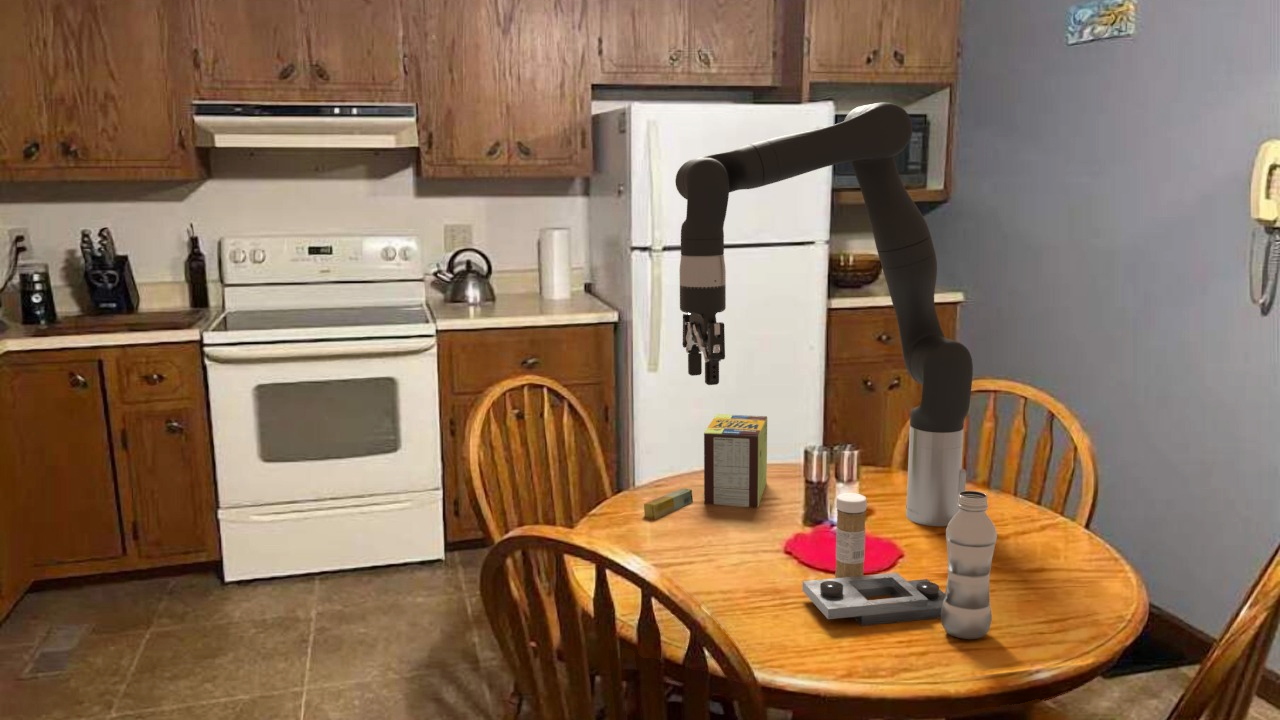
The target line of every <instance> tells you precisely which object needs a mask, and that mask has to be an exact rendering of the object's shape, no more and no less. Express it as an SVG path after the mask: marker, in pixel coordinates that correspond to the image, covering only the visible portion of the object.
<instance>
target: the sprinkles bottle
mask: <svg viewBox="0 0 1280 720" xmlns="http://www.w3.org/2000/svg"><path fill="white" fill-rule="evenodd" d="M835 502H836V504H835V505H836V506H835V507H836V512H837V513H836V515H837V516H836V518H837V519H836V520H837V521H836V535H835V538H836V539H835V541H836V542H835V573H834V576H835V577H834V578H843V577H854V576H865V575H864V565H865V564H864V562H865V555H866V554H865V551H866V550H865V549H866V512H867V511H866V510H867V508H868V507H867V505H868V504H867V502H868V501H867V497H866V496H865V495H863V494H859V493H854V492H847V493H840V494H838V495H837V497H836V501H835Z"/></svg>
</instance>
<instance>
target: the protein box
mask: <svg viewBox="0 0 1280 720" xmlns="http://www.w3.org/2000/svg"><path fill="white" fill-rule="evenodd" d="M703 451H704V452H703V473H704V474H703V489H704V491H703V493H704V494H703V496H704V497H703V499H704V500H703V501H704V503H703V504H707V505H720V506H731V507H744V508H759V506H760V503H761V501H762V497H763V495H764V492H765V489H766V486H767V474H768V473H767V472H768V471H767V470H768V462H767V461H768V416H766V415H742V414H741V415H740V414H739V415H738V414H723V413H717V414H715V416H714V418H713V419H712V421H711V422H710V423H709V424H708V427H707V428H706V429H705V430H704V433H703Z"/></svg>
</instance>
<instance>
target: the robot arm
mask: <svg viewBox="0 0 1280 720" xmlns="http://www.w3.org/2000/svg"><path fill="white" fill-rule="evenodd" d="M912 135H913V122H912V118H911V117H910V114H909V113H908V112H907V111H906V110H905V109H904V108H903V107H902V106H900V105H898V104H895V103H892V102H885V101H882V102H876V103H871V104H869V103H868V104H863V105H859V106H857V107H855V108H853V109H852V110H850V111H849V112H848V114H847V115H846V116H845V117H844V121H841V122H838V123H836V124H832V125H830V126H829V125H828V126H825V127H822V128H817V129H813V130H807V131H803V132H797V133H796V132H795V133H792V134H791V133H790V134H786V135H781V136H777V137H773V138H769V139H765V140H760V141H758V142H754V143H749V144H746V145H744V146H741V147H738V148H736V149H733V150H729V151H725V152H719V153H714V154H710V155H705V156H701V157H696V158H693V159H690V160H687V161H686V162H684V163H683V164H682V165H681V166H680V167H679V169H678V171H677V173H676V175H675V187H676V190H677V192H678V194H679V195H680V196H681V197H682V198H684V199H685V200H687V201H686V204H687V205H686V217H685V220H684V221H683V222H682V224H681V228H680V264H679V310H680V311H681V312H683V314H682V347H683V349H685V351H686V353H687V373H688V375H689V376H701V375H702V373H703V372H702V371H703V369H702V368H703V367H702V364H703V363H702V361H703V360H702V357H703V359H704V383H705V385H708V386H717V385H718V384H719V383H720V362H721V361H722V360H725V359H726V351H725V350H726V346H725V342H726V341H725V340H726V338H725V323H724V322H723V321H722V322H717V317H716V316H717V314H718V313H723V312H724V311H725V310H726V308H727V305H726V301H727V300H726V299H727V298H726V295H727V294H726V289H727V288H726V287H727V286H726V285H727V284H726V277H727V276H726V274H727V273H726V271H727V270H726V263H725V255H724V254H725V247H724V246H725V235H724V234H725V233H724V225H725V221H726V216H727V210H728V209H727V208H728V202H729V197H730V193H733V192H735V191H740V190H751V189H757V188H758V189H759V188H760V187H765V186H767V185H771V184H775V183H779V182H781V181H785V180H788V179H791V178H792V179H793V178H794V177H798V176H800V175H804V174H807V173H809V172H813V171H817V170H819V169H823V168H826V167H830V166H834V165H837V164H843V163H848V162H849V163H850V166H851V167H852V171H853V173H854V175H855V177H856V180H857V183H858V186H859V188H860V191H861V194H862V198H863V201H864V205H865V209H866V213H867V218H868V221H869V223H870V228H871V230H872V235H873V239H874V242H875V243H874V244H875V247H876V252H877V254H878V258H879V261H880V264H881V265H880V266H881V268H882V271H883V275H884V277H885V281H886V285H887V288H888V292H889V297H890V299H891V302H892V306H893V309H894V313H895V316H896V319H897V324H898V325H897V326H898V331H899V336H900V343H901V349H902V355H903V361H904V366H905V369H906V371H907V373H908V375H909V376H910V377H911V378H912V379H913V380H914V381H915V382H916V383H918V384H920V385H922V389H921V390H922V391H921V399H920V404H919V406H916V407H913V408H912V409H911V411H910V415H909V433H908V435H909V436H908V437H909V438H908V443H909V444H908V460H907V461H908V463H907V464H908V465H907V466H908V467H907V486H906V487H907V488H906V505H905V508H906V511H905V512H906V513H905V516H906V518H907V520H909V521H911V522H912V523H915V524H918V525H923V526H928V527H929V526H930V527H947V526H948V523H949V522H950V520H951V519H952V518H953V516H954V515H955V514H956V513H957V512H958V511H959V508H958V507H957V502H958V494H959V492H961V491H966V485H967V483H966V482H967V470H966V469H965V468H963V467H962V463H963V446H964V429H965V428H964V426H965V419H966V417H967V416H968V414H969V410H970V406H971V405H970V404H971V398H972V397H971V394H972V385H973V375H974V374H973V372H974V371H973V370H974V368H973V367H974V366H973V358H972V356H971V355H972V354H971V353H970V350H969V349H968V348H967V347H966V346H965V345H964V344H963V343H961V342H958V341H956V340H953V339H950V338H947V337H945V335H944V332H943V330H942V327H941V324H940V321H939V318H938V314H937V310H936V305H935V290H936V286H937V285H936V284H937V275H938V260H937V256H936V250H935V248H934V244H933V239H932V236H931V232H930V229H929V226H928V223H927V222H926V219H925V217H924V216H923V214H922V213H921V211H920V209H919V208H918V206H917V204H916V203H915V201H914V200H913V198H912V197H911V196H910V194H909V192H908V191H907V189H906V188H905V185H904V183H903V182H902V180H901V176H900V174H899V171H898V168H897V167H898V166H897V163H896V159H895V156H897V155H898V154H900V153H902V152H903V150H905V148H906V147H907V146H908V145H909V143H910V141H911V138H912ZM702 355H703V356H702Z"/></svg>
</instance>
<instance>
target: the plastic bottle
mask: <svg viewBox="0 0 1280 720" xmlns="http://www.w3.org/2000/svg"><path fill="white" fill-rule="evenodd" d="M957 507H958V508H959V511H958V512H957V513H956V514H955V515H954V516H953V518H952V519H951V520H950V522H949V523H948V526H946V529H945V538H946V539H945V540H946V549H947V550H946V551H947V568H948V569H947V580H946V586H945V592H944V593H945V598H944V601H943V604H942V609H941V618H940V622H941V626H942V627H943V629H944V630H945V632H946V633H947V634H948V635H951V636H952V637H955V638H959V639H965V640H974V639H975V640H977V639H981V638H983V637H985V636H986V635H987V634H988V632H989V631H990V630H991V629H990V628H991V625H992V619H993V617H992V616H993V615H992V607H991V603H990V602H991V598H990V596H991V595H990V578H991V568H992V561H993V556H994V553H995V548H996V547H995V546H996V543H997V537H998V532H997V528H996V526H995V524H994V523H993V520H992V519H991V518H990V516H989V515H988V514H987V513H986V511H988V509H989V505H988V495H987V493H985V492H982V491H977V490H965V491H961V492H959V494H958V502H957Z"/></svg>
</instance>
